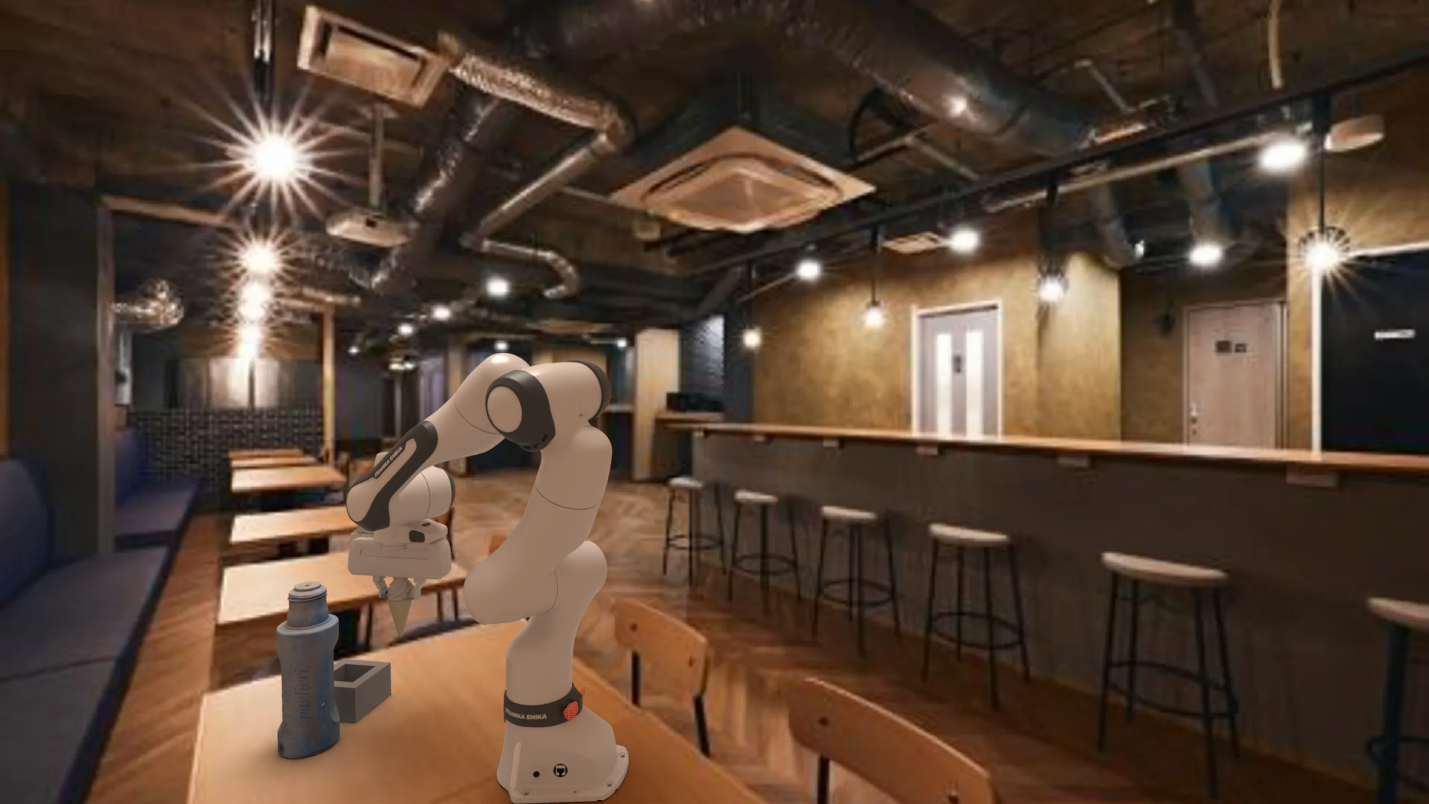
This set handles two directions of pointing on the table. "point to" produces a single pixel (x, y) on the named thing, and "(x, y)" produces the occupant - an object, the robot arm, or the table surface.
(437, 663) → the table surface
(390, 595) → the ice cream cone
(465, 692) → the table surface
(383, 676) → the box
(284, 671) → the bottle
